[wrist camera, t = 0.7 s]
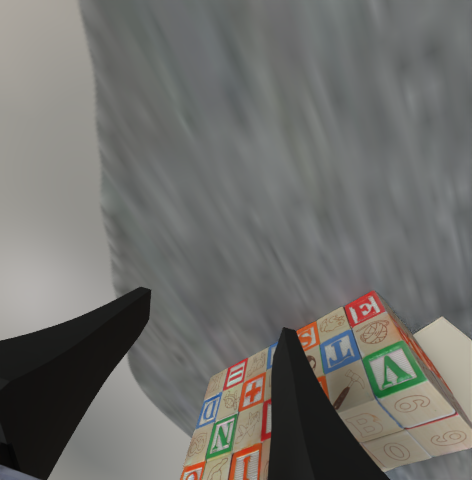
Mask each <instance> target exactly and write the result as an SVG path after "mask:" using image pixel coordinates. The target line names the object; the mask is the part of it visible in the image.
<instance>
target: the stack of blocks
mask: <svg viewBox="0 0 472 480" xmlns="http://www.w3.org/2000/svg"><path fill="white" fill-rule="evenodd" d="M296 332H297V335H298V337H299V340H300V342H301V345H302V347H303V350H304V352H305V354H306V357H307V359H308V361H309V363H310V365H311V367H312V369H313V372H314V374H315V376H316V377H317V379H318V381H319V383H320V385H321V387H322V389H323V390H324V392H325V394H326V396H327V397H328V399H329V401H330V402H331V404H332V405H333V407H334V409H335V410H336V412H337V413H338V415H339V416H340V418H341V419H342V421H343V422H344V423H345V425H346V426H347V427H348V429H349V430H350V432H351V433H352V434H353V436H354V437H355V438H356V440H357V441H358V442H359V444H360V445H361V446H362V447H363V449H364V450H365V451H366V452H367V453H368V455H369V456H370V457H371V458H372V460H373V461H374V462H375V463H376V464H377V466H378V467H379V468H380V469H385V468H394V467H398V466H402V465H406V464H410V463H414V462H418V461H423V460H427V459H430V458H432V457H433V456H441V455H445V454H449V453H453V452H458V451H463V450H466V449H469V448H472V423H471V421H470V420H469V418H468V417H467V415H466V414H465V412H464V411H463V409H462V407H461V406H460V404H459V403H458V401H457V400H456V399H455V397H454V396H453V393H452V392H451V390H450V389H449V387H448V386H447V384H446V383H445V381H444V380H443V378H442V376H441V375H440V373H439V372H438V371H437V369H436V368H435V366H434V365H433V363H432V362H431V360H430V359H429V358H428V356H427V355H426V353H425V352H424V351H423V349H422V348H421V346H420V345H419V343H418V342H417V340H416V339H415V337H414V336H413V335H412V333H411V332H410V331H409V330H408V329H407V327H406V326H405V325H404V324H403V323H402V322H401V320H400V319H399V318H398V317H397V316H396V315H395V314H394V312H393V311H392V309H391V308H390V307H389V306H388V305H387V304H386V302H385V301H384V300H383V299H382V298H381V297H380V296H379V295H378V294H377V293H376V291H374V290H373V291H371V292H369V293H368V294H366V295H364V296H362V297H360V298H359V299H357V300H355V301H353V302H351V303H350V304H348V305H346V306H345V307H340V308H338V309H337V310H335V311H333V312H331V313H329V314H327V315H325V316H324V317H322V318H320V319H318V320H317V321H315V322H313V323H311V324H309V325H307V326H305V327H303V328H301V329H299V330H297V331H296ZM277 344H278V342H277V343H275V344H273V345H271V346H270V347H268V348H266V349H264V350H262V351H260V352H258V353H257V354H255V355H253V356H251V357H249V358H246V359H244V360H242V361H241V362H239V363H237V364H235V365H233V366H231V367H230V368H228V369H225V370H224V371H222V372H220V373H218V374H216V375H214V376H212V377H211V379H210V382H209V385H208V389H207V392H206V395H205V398H204V403H203V406H202V409H201V413H200V416H199V419H198V422H197V425H196V428H195V432H194V433H193V436H192V440H191V442H190V446H189V449H188V452H187V455H186V459H185V463H184V465H183V469H184V470H183V472H182V475H181V478H180V480H267V476H268V465H269V453H270V441H271V371H272V362H273V355H274V352H275V349H276V347H277Z"/></svg>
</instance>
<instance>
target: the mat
mask: <svg viewBox="0 0 472 480" xmlns="http://www.w3.org/2000/svg"><path fill="white" fill-rule="evenodd" d="M413 336H414V337H415V339H416V340H417V342H418V343H419V345H420V346H421V348H422V349H423V351H424V352H425V353H426V355H427V356H428V358H429V359H430V360H431V362H432V363H433V365H434V366H435V368H436V369H437V371H438V372H439V373H440V375H441V376H442V378H443V380H444V381H445V383H446V384H447V386H448V387H449V389H450V390H451V392H452V393H453V396H454V397H455V399H456V400H457V401H458V403H459V404H460V406H461V407H462V409H463V411H464V412H465V414H466V415H467V417H468V418H469V420H470V421H471V423H472V340H471V339H470V338H469V337H467V336H466V335H465V334H464V333H462V332H461V331H460V330H459V329H457V328H456V327H455V326H454V325H452V324H451V323H450V322H449V321H447V320H446V319H445V318H444V317H440V318H439V319H437V320H436V321H434V322H432V323H431V324H429V325H428V326H426V327H425V328H423V329H421V330H420V331H418V332H417V333H415V334H414V335H413ZM394 468H396V467H394ZM391 469H393V468H385V469H381V470H382V471H383V472H386V471H388V470H391Z"/></svg>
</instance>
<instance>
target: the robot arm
mask: <svg viewBox="0 0 472 480" xmlns="http://www.w3.org/2000/svg"><path fill="white" fill-rule="evenodd" d="M150 299H151V290H150V289H147V288H143V287H139V288H137V289H135V290H133V291H131V292H129V293H127V294H125V295H124V296H122V297H120V298H118V299H116V300H114V301H112V302H110V303H108V304H106V305H104V306H102V307H100V308H97V309H95V310H93V311H91V312H89V313H86V314H84V315H82V316H79V317H77V318H74V319H72V320H69V321H66V322H64V323H61V324H58V325H55V326H52V327H49V328H46V329H42V330H39V331H36V332H33V333H29V334H26V335H22V336H18V337H14V338H10V339H6V340H1V341H0V480H47V479H48V477H49V475H50V474H51V472H52V470H53V468H54V466H55V464H56V463H57V461H58V459H59V457H60V455H61V454H62V452H63V450H64V448H65V446H66V445H67V443H68V441H69V439H70V438H71V436H72V434H73V433H74V431H75V429H76V427H77V426H78V424H79V422H80V421H81V419H82V417H83V416H84V414H85V412H86V411H87V409H88V407H89V406H90V404H91V402H92V401H93V399H94V398H95V396H96V395H97V393H98V392H99V390H100V388H101V387H102V385H103V384H104V382H105V381H106V379H107V378H108V376H109V375H110V374H111V372H112V371H113V370H114V368H115V367H116V366H117V364H118V363H119V362H120V361H121V359H122V358H123V357H124V355H125V354H126V353H127V352H128V350H129V349H130V348H131V346H132V345H133V344H134V342H135V341H136V340H137V338H138V337H139V336H140V334H141V332H142V331H143V329H144V327H145V326H146V324H147V322H148V320H149V314H150ZM267 480H390V479H389V478H388V477H387V476H386V474H385V473H384V472H383V471H382V470H381V469H380V468H379V467H378V466H377V464H376V463H375V462H374V461H373V460H372V458H371V457H370V456H369V455H368V453H367V452H366V451H365V450H364V449H363V447H362V446H361V445H360V444H359V442H358V441H357V440H356V438H355V437H354V436H353V434H352V433H351V432H350V430H349V429H348V427H347V426H346V425H345V423H344V422H343V421H342V419H341V418H340V416H339V415H338V413H337V412H336V410H335V409H334V407H333V405H332V404H331V402H330V401H329V399H328V397H327V396H326V394H325V392H324V390H323V389H322V387H321V385H320V383H319V381H318V379H317V377H316V376H315V374H314V372H313V369H312V367H311V365H310V363H309V361H308V359H307V357H306V354H305V352H304V350H303V347H302V345H301V342H300V340H299V337H298V335H297V332H296V331H295V330H292V329H288V328H285V327H283V330H282V333H281V335H280V338H279V341H278V344H277V347H276V349H275V352H274V355H273V362H272V371H271V441H270V453H269V465H268V476H267Z"/></svg>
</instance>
